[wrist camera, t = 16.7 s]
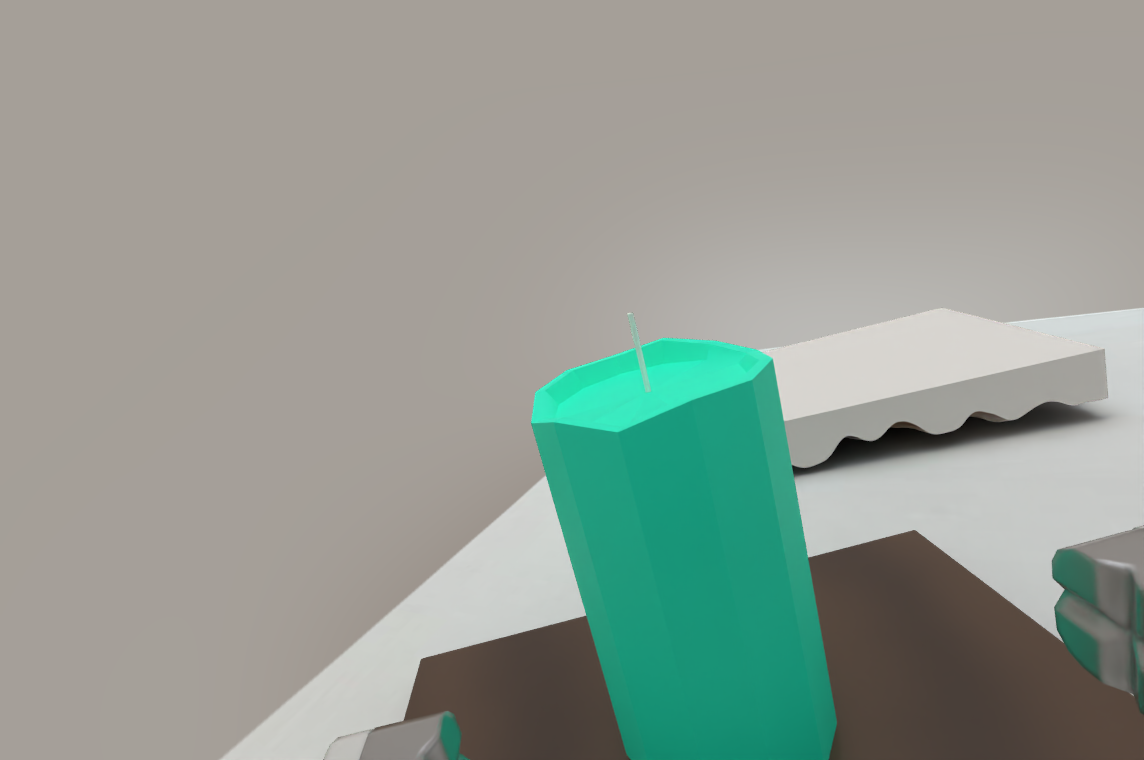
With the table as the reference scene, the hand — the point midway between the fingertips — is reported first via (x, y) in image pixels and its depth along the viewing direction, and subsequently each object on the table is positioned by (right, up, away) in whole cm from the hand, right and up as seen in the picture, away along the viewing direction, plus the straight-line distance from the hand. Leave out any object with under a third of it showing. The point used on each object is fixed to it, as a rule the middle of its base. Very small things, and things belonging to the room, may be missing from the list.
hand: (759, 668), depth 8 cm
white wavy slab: (+15, +2, +30) cm, 33 cm away
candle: (+2, -6, +9) cm, 11 cm away
